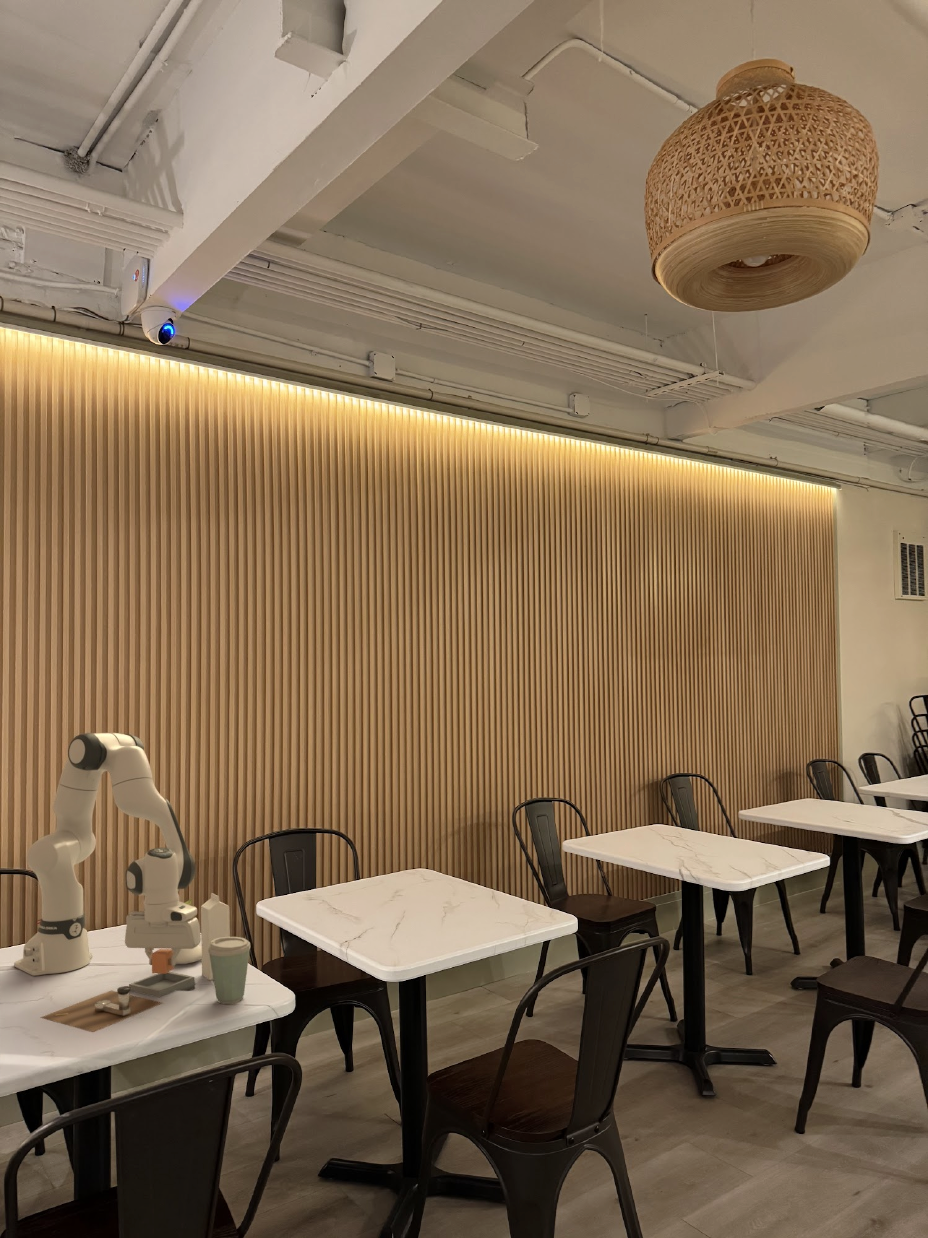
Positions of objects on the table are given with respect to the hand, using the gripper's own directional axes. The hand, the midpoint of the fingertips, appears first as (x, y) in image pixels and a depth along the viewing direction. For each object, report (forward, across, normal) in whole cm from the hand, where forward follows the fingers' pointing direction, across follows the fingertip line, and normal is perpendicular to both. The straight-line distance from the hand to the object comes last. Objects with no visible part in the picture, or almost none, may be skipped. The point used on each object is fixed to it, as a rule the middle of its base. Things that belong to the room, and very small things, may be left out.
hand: (163, 964), depth 231 cm
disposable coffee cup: (+7, +21, -4) cm, 22 cm away
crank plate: (+7, -6, -17) cm, 20 cm away
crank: (+5, -3, -18) cm, 19 cm away
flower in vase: (+7, -7, +24) cm, 26 cm away
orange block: (+2, 0, 0) cm, 2 cm away
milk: (+7, +8, +14) cm, 18 cm away
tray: (+7, 0, 0) cm, 7 cm away
